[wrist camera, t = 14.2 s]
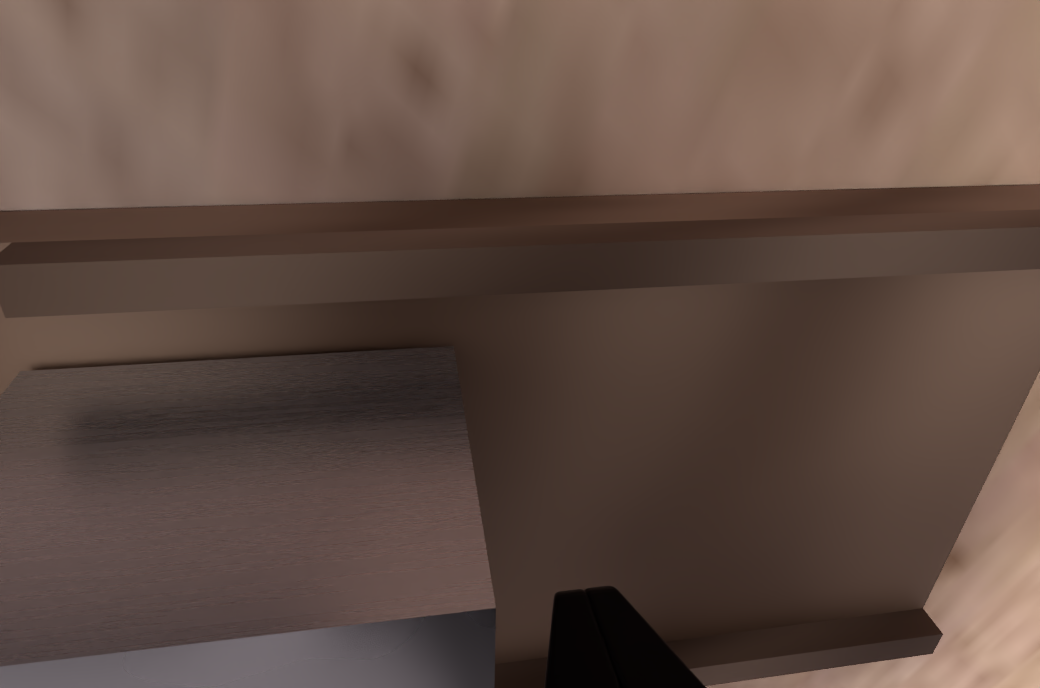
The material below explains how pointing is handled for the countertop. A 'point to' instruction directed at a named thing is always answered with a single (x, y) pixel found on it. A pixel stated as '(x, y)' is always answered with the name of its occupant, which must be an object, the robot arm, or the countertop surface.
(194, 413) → the grey small block
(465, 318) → the track
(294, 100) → the countertop surface
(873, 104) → the countertop surface
